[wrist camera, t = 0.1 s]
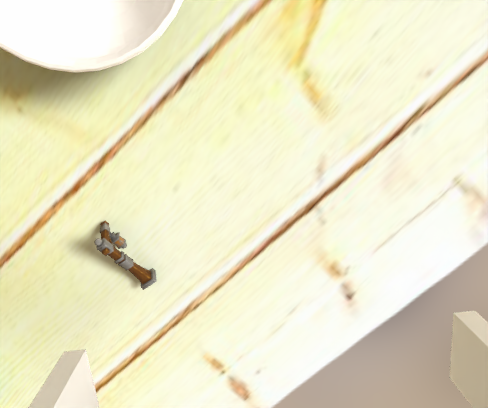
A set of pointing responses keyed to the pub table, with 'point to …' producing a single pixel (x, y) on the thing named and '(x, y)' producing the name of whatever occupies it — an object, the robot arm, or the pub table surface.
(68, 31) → the bowl
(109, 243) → the wooden post with brackets
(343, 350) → the pub table surface
